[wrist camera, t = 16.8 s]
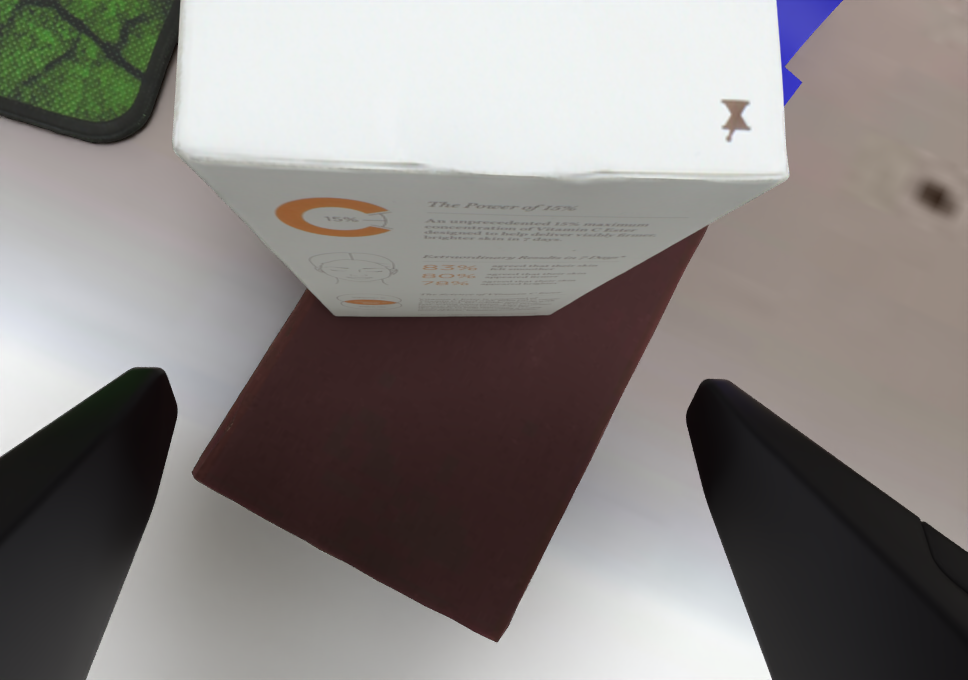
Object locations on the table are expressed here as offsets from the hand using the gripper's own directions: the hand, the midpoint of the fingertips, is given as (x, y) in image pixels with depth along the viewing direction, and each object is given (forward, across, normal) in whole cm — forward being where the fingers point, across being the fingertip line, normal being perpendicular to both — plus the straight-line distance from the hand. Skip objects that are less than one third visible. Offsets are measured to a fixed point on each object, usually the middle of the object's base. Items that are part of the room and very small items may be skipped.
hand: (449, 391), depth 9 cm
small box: (+12, 0, +3) cm, 12 cm away
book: (+12, -2, +8) cm, 14 cm away
